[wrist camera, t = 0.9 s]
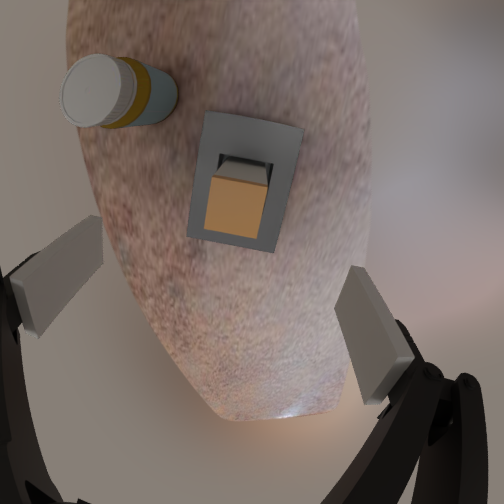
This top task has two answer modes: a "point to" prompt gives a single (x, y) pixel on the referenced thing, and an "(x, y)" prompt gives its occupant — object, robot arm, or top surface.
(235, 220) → the plug
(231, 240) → the gray socket block
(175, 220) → the top surface
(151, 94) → the bottle
